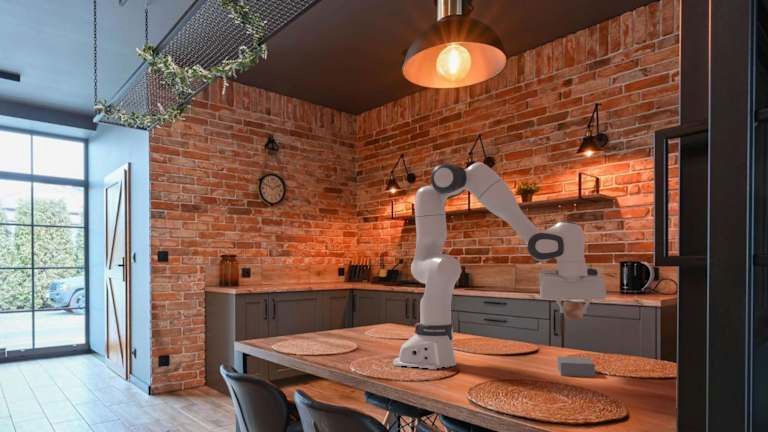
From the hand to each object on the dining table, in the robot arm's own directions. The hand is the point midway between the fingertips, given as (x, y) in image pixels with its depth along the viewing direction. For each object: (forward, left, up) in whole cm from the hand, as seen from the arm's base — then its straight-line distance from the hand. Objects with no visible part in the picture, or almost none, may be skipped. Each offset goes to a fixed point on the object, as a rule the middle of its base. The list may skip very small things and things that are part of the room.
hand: (573, 313), depth 159 cm
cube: (0, 0, -2) cm, 2 cm away
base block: (0, 0, -19) cm, 19 cm away
